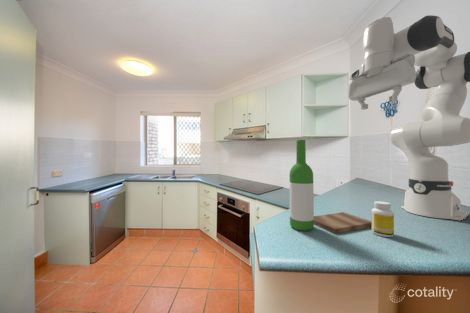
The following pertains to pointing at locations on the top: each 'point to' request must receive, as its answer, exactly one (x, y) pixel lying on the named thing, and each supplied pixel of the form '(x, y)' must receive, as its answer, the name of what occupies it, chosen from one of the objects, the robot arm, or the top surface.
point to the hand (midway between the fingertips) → (377, 105)
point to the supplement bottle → (382, 219)
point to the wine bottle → (301, 191)
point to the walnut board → (341, 222)
